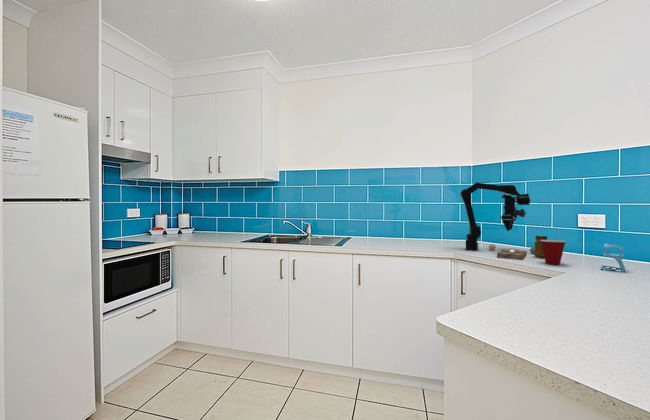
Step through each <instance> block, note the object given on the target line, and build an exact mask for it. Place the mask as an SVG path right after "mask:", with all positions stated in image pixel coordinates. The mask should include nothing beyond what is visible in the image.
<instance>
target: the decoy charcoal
mask: <svg viewBox="0 0 650 420" xmlns="http://www.w3.org/2000/svg"><path fill="white" fill-rule="evenodd" d="M529 252H530V253H531V254H533V255H535V246H532V247H530V249H529Z"/></svg>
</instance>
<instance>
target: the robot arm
mask: <svg viewBox="0 0 650 420" xmlns="http://www.w3.org/2000/svg"><path fill="white" fill-rule="evenodd" d="M477 190H486V191H494V192H495V191H496V192H499V193H502V195H501V196H500V198H501V199H503V200H504V201H503V202H504V204H503V210H504V212H503V214H502V215H501V216H500V219H501V221H502V223H503V224H504V227H505V229H506V231H507V232H510V231H511V230H512V229H513V226H514V223H515V221H517V219H518V217H521V218H525V217H526V214H527V212H526V211H525V209H522V208H521V209H517V207H516V204H517V206H529V205H530V204H531V199H530V195H529V193H524V194H523V193H521V194H520V193H519V191H518V190H517V188H516V186H515V185H514V184H492V183H483V182H477V181H476V182H474V183H473V184H472V185H471V186H468V187H467V188H464V189H461V191H460V192H459V196H460V198H461V200H462V202H463V205H464V209H465V213H466V216H467V220H468V232H469V233H468V234H467V235H466V236H465V238H466V239H465V249H464V250H466V251H472V252H473V251H477V250H479V242H478V239H479V238H480V237H481V235H482V231H481V226H480V225H477V222H476V218H475V213H474V210H473V205H472V194H473V193H474V192H476V191H477Z"/></svg>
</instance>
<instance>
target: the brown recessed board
mask: <svg viewBox="0 0 650 420" xmlns="http://www.w3.org/2000/svg"><path fill="white" fill-rule="evenodd" d="M509 250H510V249H505V248H502V249H501V250H499V251H498V252H497V253H496V258H497V257H498V259H499V258H500V259H509V260H519V261H523V260H524V259H525V258H526V256H527V250H516V249H514V250H515V251H516V253H509V252H508V251H509Z"/></svg>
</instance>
